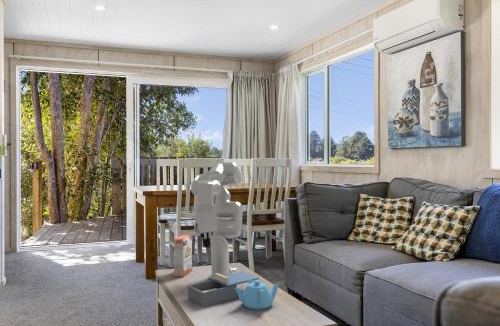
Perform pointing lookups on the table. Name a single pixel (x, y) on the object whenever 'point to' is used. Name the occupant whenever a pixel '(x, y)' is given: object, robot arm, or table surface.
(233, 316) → the table surface
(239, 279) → the lid
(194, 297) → the base
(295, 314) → the table surface
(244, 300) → the teapot
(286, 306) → the table surface
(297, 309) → the table surface
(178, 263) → the cracker box
